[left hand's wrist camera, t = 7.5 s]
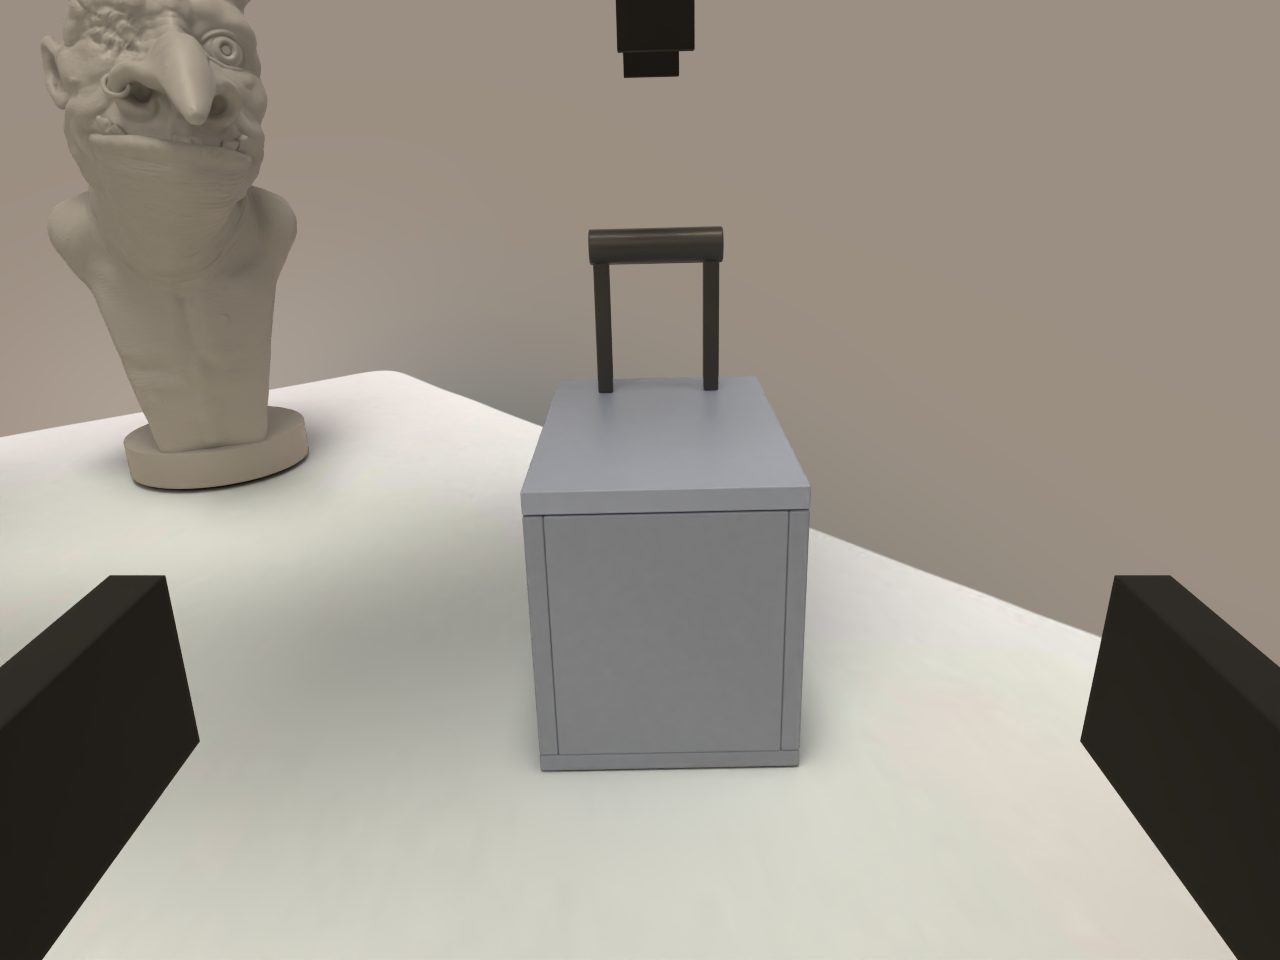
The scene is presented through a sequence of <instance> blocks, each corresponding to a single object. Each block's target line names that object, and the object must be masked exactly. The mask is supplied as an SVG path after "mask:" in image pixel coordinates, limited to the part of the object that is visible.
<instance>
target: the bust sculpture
mask: <svg viewBox="0 0 1280 960" xmlns="http://www.w3.org/2000/svg"><path fill="white" fill-rule="evenodd" d="M249 1H250V0H69V5H68V9H67V11H66V14H65V17H64V22H63V42H62V44H60V45H59V44H58V43H57V42H56V41H55V40H54V39H53V38H52V37H50V36H45V37H44V39H43V40H42V42H41V53H42V59H43V67H44V73H45V81H46V87H47V90H48V92H49V94H50V96H51V97H52V99H53V101H54V103H55V104H56V106H57V107H58V108H60V109H63V110H65V118H64V133H65V136H66V139H67V143H68V146H69V149H70V152H71V154H72V156H73V158H74V159H75V161H76V163H77V165H78V166H79V168H80V171H81V173H82V175H83V177H84V178H85V180H86V181H87V183H88V184H89V187H88V188H89V191H87V192H84V193H81V194H78V195H76V196H74V197H71V198H69V199H67V200H65V201H64V202H62V203H60V204H58V205H57V206H55V207H54V208H53V210H52V212H51V214H50V216H49V219H48V226H47V227H48V234H49V238H50V241H51V243H52V245H53V247H54V248H55V249H56V251H57V252H58V253H59V255H60V256H61V257H62V258H63V259H64V261H65V262H66V263H67V265H68V266H69V267H70V269H71V270H72V271H73V272H74V273H75V274H76V276H77V277H78V278H79V279H80V280H81V281H83V283H85V284H86V286H87V287H88V288H89V289H90V290H91V292H92V293H93V295H94V297H95V299H96V302H97V305H98V307H99V309H100V312H101V315H102V317H103V319H104V321H105V323H106V326H107V328H108V331H109V333H110V336H111V338H112V340H113V343H114V345H115V347H116V350H117V351H118V354H119V356H120V358H121V360H122V363H123V367H124V369H125V372H126V374H127V377H128V379H129V381H130V383H131V385H132V388H133V390H134V392H135V395H136V397H137V400H138V402H139V405H140V407H141V409H142V411H143V413H144V415H145V416H146V419H147V420H148V423H149V424H147V425H145V426H142V427H140V428H138V429H136V430H134V431H133V432H131V433H130V434H129V435H128V436H127V437H126V438H125V439H124V447H125V451H126V456H127V460H128V464H129V468H130V473H131V476H132V478H133V479H134V480H135V481H136V482H138V483H141V484H143V485H147V486H151V487H157V488H168V489H193V488H206V487H215V486H223V485H229V484H235V483H240V482H245V481H249V480H253V479H257V478H261V477H264V476H267V475H270V474H273V473H276V472H279V471H281V470H284V469H286V468H288V467H290V466H292V465H294V464H296V463H298V462H299V461H300V460H302V459H303V458H304V457H305V456H306V455H307V453H308V442H307V436H306V430H305V423H304V418H303V416H302V415H301V414H300V413H298V412H296V411H294V410H291V409H286V408H281V407H272V406H267V405H268V395H269V372H270V357H271V356H270V355H271V333H272V322H273V311H274V302H275V289H276V283H277V280H278V277H279V275H280V272H281V270H282V268H283V266H284V263H285V261H286V259H287V256H288V253H289V251H290V249H291V247H292V244H293V242H294V240H295V237H296V233H297V221H296V216H295V214H294V212H293V210H292V208H291V207H290V205H289V203H288V202H287V201H286V200H285V199H284V198H282V197H281V196H279V195H277V194H274V193H272V192H269V191H267V190H265V189H262V188H258V187H255V186H251V185H252V183H253V182H254V180H255V179H256V178H257V176H258V174H259V170H260V165H261V163H262V161H263V157H264V150H263V148H264V140H265V137H264V133H263V130H262V129H261V127H260V125H261V122H262V119H263V117H264V115H265V112H266V108H267V94H266V90H265V88H264V86H263V84H262V82H261V79H260V74H261V65H260V60H259V57H258V54H257V50H256V46H257V42H256V36H255V33H254V30H253V28H252V26H251V25H250V24H249V22H248V21H247V19H246V18H245V16H244V8H245V6H246V5H247V4H248V2H249Z"/></svg>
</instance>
